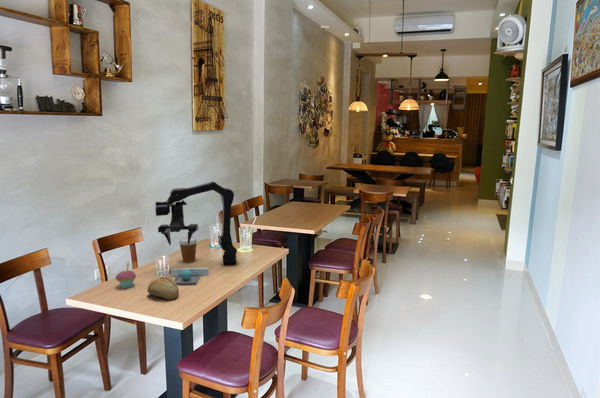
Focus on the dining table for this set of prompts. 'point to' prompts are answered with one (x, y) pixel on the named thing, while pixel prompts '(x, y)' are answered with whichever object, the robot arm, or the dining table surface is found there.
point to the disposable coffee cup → (188, 249)
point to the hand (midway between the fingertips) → (179, 244)
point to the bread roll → (164, 288)
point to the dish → (191, 281)
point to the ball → (186, 274)
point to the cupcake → (126, 278)
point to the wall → (193, 270)
